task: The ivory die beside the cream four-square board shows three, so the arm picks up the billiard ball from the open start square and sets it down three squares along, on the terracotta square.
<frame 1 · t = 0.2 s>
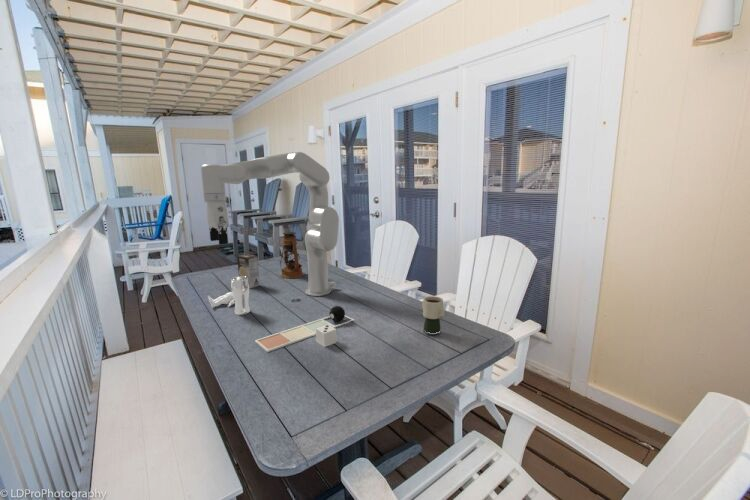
hand: (219, 242, 134), 31 cm above the table, tool pointing down, fingers open, 9 cm apart
beer glass: (242, 312, 146), on the table
character mug: (431, 333, 127), on the table
toy creature: (224, 304, 155), on the table
billiard ball: (337, 321, 137), resting on board
die: (326, 342, 120), on the table
lantern: (292, 275, 199), on the table
board: (308, 330, 128), on the table
coffee box: (249, 285, 181), on the table
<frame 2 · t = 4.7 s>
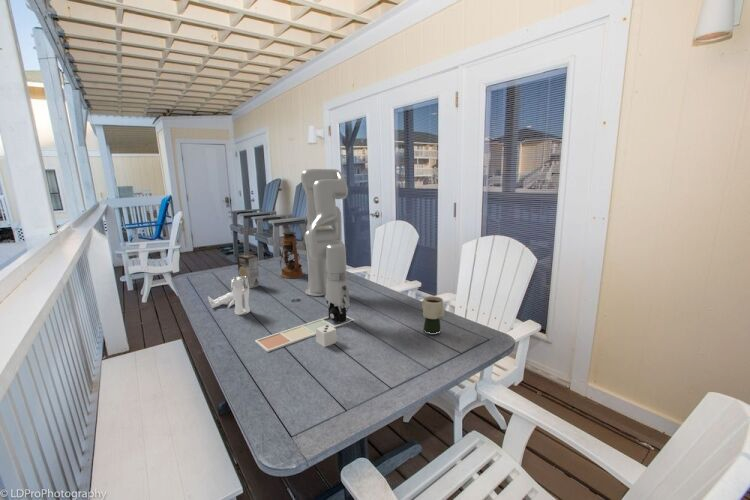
hand: (337, 318, 137), 1 cm above the table, tool pointing down, fingers closed on billiard ball, 6 cm apart
billiard ball: (337, 321, 137), resting on board, touching gripper
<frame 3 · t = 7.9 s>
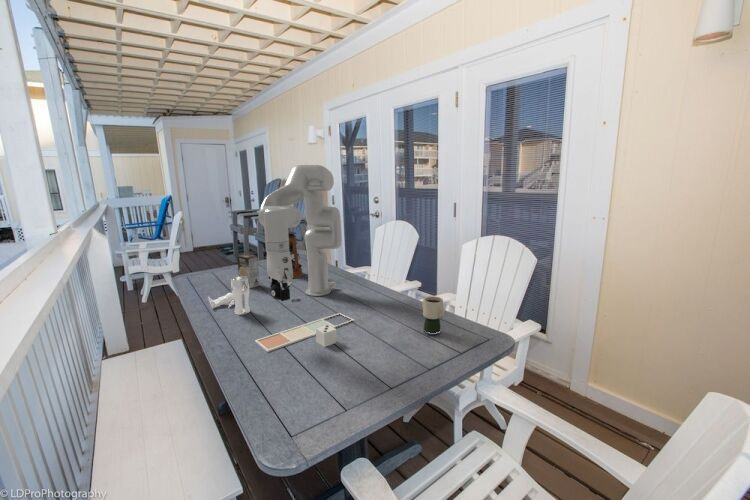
hand: (280, 296, 118), 16 cm above the table, tool pointing down, fingers closed on billiard ball, 6 cm apart
billiard ball: (280, 299, 119), point 15 cm above the table, touching gripper
when the fingers open (2 cm above the table, at t = 11.2 s): billiard ball drops 1 cm, resting on board.
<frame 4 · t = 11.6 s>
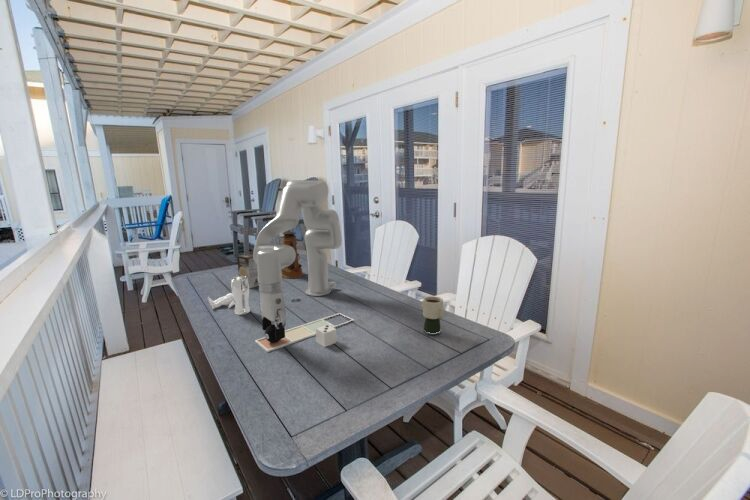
hand: (273, 333, 119), 3 cm above the table, tool pointing down, fingers open, 9 cm apart
billiard ball: (274, 341, 120), resting on board
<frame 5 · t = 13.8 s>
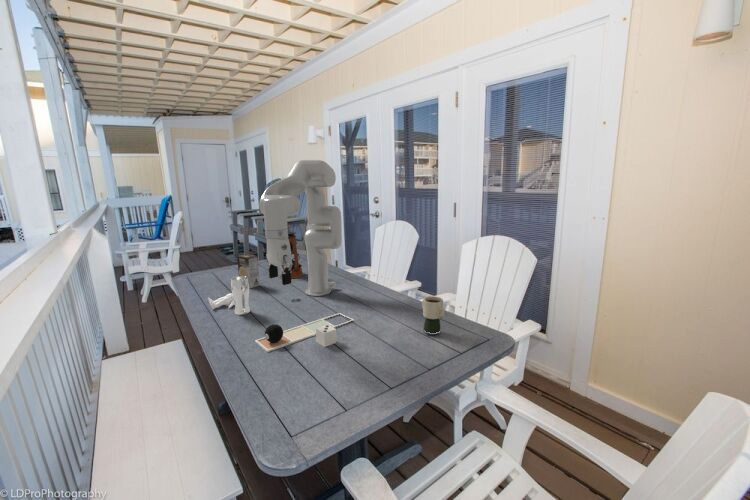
hand: (280, 280, 123), 20 cm above the table, tool pointing down, fingers open, 9 cm apart
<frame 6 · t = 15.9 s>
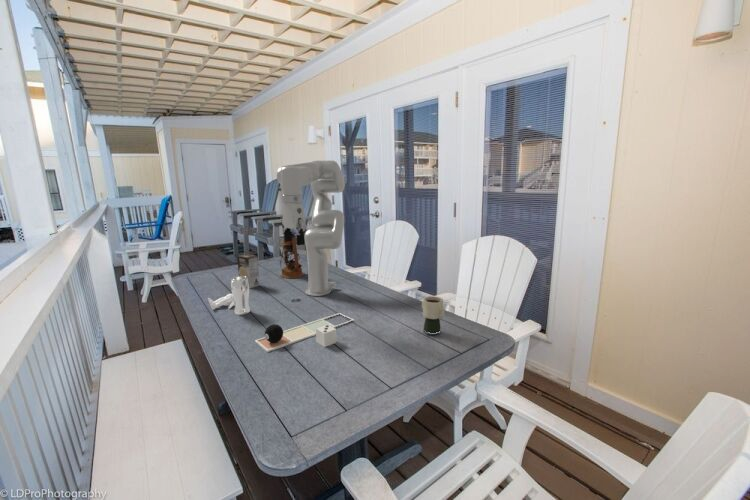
hand: (294, 243, 137), 30 cm above the table, tool pointing down, fingers open, 9 cm apart
at the end: billiard ball 0.2 cm from the target spot on the board, point 0.1 cm above the board's base; the gripper is holding nothing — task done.
